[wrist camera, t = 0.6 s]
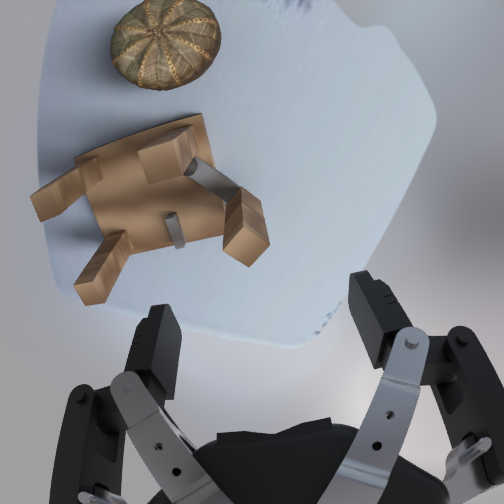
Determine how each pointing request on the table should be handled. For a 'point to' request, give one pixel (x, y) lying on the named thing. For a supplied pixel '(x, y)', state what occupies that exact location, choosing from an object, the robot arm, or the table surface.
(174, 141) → the wooden peg stand
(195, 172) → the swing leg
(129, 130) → the table surface
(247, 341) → the table surface
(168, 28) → the shell
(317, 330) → the table surface
